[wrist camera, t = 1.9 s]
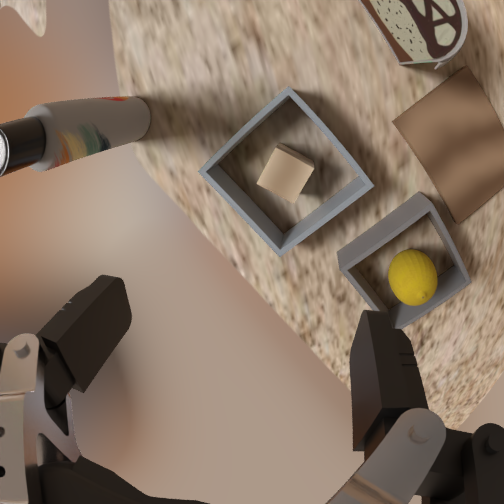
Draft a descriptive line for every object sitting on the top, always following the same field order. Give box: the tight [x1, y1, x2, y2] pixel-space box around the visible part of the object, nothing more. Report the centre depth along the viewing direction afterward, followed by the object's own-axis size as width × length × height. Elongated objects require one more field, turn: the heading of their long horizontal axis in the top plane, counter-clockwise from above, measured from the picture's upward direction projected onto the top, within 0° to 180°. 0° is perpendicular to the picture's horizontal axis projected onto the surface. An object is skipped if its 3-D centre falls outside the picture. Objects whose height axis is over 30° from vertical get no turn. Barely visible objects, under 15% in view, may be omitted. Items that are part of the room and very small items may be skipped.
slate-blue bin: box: [198, 86, 374, 257], centre depth 29 cm, size 12×12×4 cm
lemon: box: [388, 249, 437, 306], centre depth 29 cm, size 6×6×8 cm
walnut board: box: [392, 66, 504, 225], centre depth 24 cm, size 14×12×1 cm
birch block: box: [257, 143, 314, 204], centre depth 29 cm, size 4×4×4 cm
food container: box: [358, 0, 468, 70], centre depth 16 cm, size 12×6×10 cm, turn 30°
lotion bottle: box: [0, 96, 151, 177], centre depth 22 cm, size 6×6×20 cm
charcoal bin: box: [337, 192, 471, 329], centre depth 31 cm, size 12×12×4 cm
